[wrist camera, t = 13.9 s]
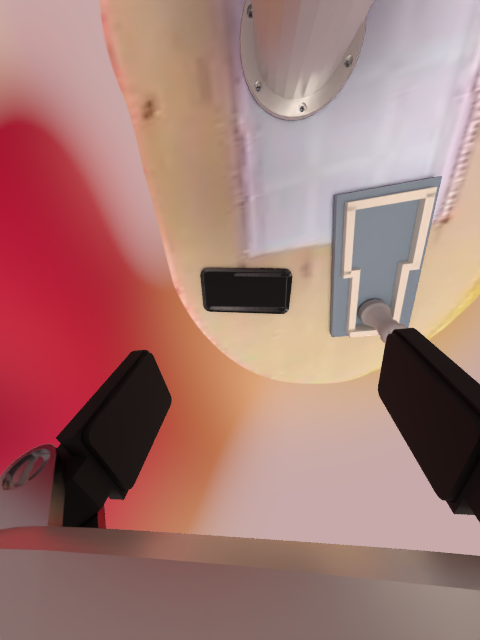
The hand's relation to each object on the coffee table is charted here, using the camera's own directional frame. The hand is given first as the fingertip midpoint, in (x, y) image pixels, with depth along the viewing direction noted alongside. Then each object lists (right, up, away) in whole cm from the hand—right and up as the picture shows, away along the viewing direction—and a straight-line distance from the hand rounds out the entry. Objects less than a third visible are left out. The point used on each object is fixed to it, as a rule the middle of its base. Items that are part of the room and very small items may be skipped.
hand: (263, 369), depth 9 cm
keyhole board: (+20, +10, +25) cm, 33 cm away
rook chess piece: (+20, +4, +27) cm, 34 cm away
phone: (0, +7, +29) cm, 30 cm away
